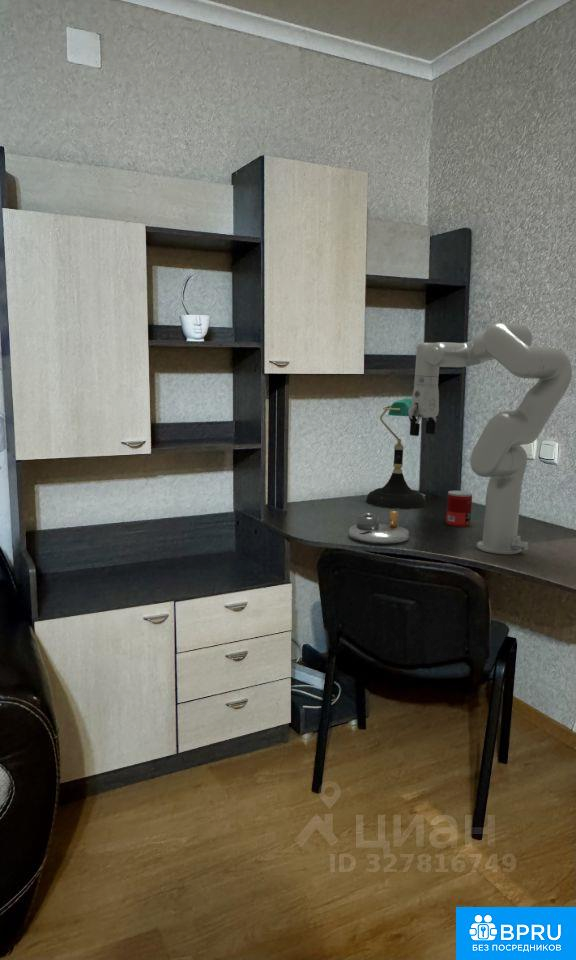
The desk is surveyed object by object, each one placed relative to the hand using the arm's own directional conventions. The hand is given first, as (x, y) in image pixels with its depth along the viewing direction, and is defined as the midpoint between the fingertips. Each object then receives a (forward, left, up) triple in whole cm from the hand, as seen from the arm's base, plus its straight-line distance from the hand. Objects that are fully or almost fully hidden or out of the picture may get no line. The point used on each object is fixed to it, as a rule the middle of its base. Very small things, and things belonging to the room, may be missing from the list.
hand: (422, 434), depth 227 cm
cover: (+1, +24, -28) cm, 37 cm away
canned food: (-7, -13, -31) cm, 34 cm away
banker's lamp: (+29, -25, -31) cm, 49 cm away
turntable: (-3, +24, -31) cm, 39 cm away
